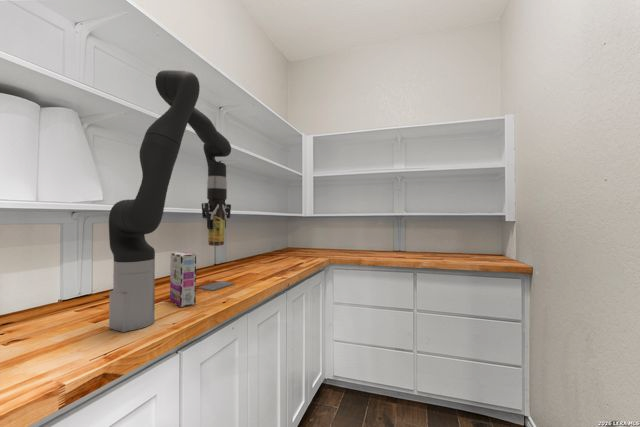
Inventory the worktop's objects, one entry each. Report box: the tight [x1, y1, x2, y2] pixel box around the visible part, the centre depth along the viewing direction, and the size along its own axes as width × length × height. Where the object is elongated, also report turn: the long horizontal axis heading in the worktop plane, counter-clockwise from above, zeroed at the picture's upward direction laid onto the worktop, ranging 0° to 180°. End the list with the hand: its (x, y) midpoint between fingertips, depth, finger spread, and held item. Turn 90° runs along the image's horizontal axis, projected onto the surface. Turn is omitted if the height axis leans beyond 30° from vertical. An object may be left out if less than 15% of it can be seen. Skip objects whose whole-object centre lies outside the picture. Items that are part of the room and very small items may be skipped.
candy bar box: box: [169, 251, 197, 308], centre depth 95 cm, size 11×5×16 cm, turn 44°
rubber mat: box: [197, 280, 235, 292], centre depth 117 cm, size 12×8×1 cm, turn 155°
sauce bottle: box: [207, 199, 226, 247], centre depth 117 cm, size 6×6×20 cm
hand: (216, 228), depth 117 cm, fingers closed on sauce bottle, 6 cm apart
